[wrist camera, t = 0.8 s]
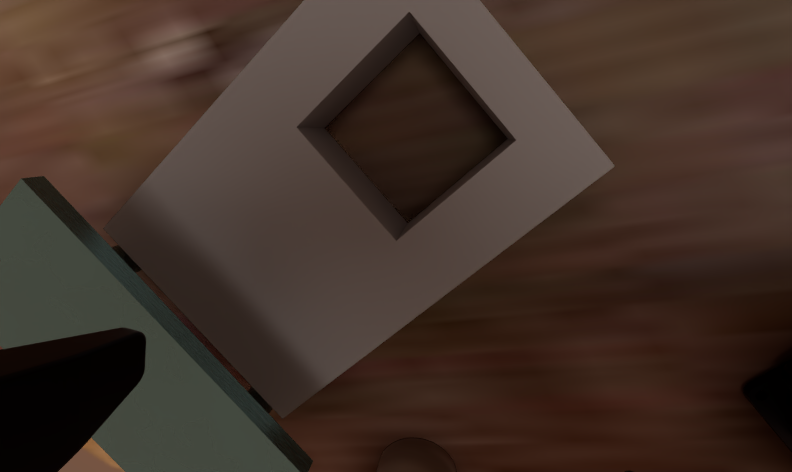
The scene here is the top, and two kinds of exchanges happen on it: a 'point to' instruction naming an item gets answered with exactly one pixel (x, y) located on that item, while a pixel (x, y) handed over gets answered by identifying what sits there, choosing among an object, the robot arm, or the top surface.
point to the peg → (415, 457)
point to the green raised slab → (165, 345)
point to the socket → (342, 194)
